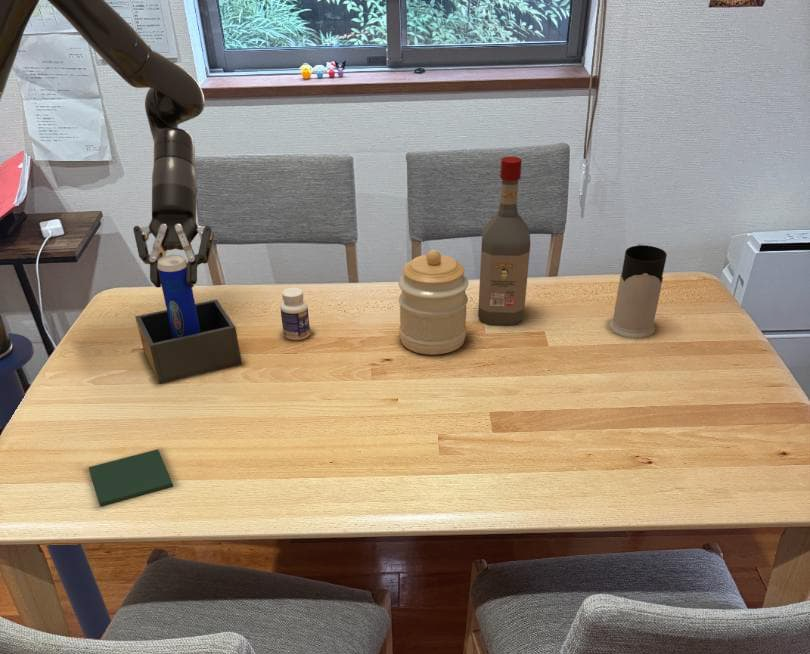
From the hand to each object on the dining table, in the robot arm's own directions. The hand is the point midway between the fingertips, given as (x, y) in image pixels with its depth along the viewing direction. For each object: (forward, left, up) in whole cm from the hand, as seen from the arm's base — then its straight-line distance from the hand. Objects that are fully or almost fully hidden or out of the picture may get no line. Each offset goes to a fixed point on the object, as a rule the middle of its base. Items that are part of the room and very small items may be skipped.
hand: (173, 285), depth 142 cm
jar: (+45, -13, -15) cm, 49 cm away
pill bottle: (+22, +1, -15) cm, 27 cm away
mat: (-17, -31, -15) cm, 39 cm away
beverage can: (+1, +2, -11) cm, 11 cm away
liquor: (+62, -10, -15) cm, 64 cm away
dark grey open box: (+1, +1, -15) cm, 15 cm away
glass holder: (+84, -24, -15) cm, 88 cm away
